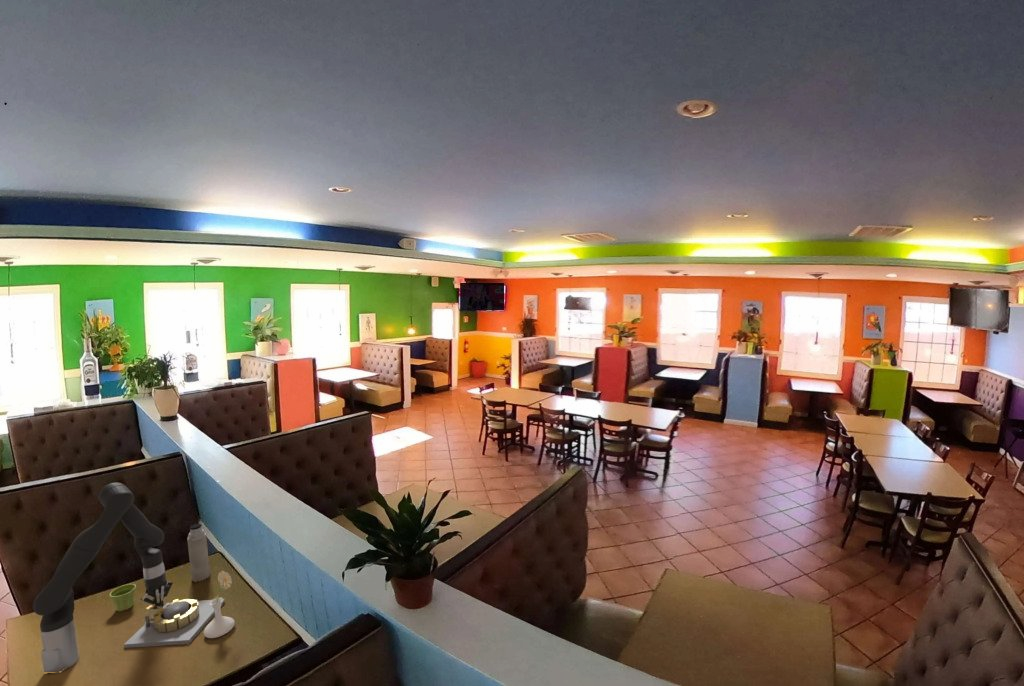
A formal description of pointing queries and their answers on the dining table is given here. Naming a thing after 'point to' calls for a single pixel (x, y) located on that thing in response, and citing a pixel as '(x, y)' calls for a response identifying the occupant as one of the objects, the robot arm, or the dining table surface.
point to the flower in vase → (220, 622)
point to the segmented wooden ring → (178, 620)
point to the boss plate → (179, 636)
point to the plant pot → (123, 597)
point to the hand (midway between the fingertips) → (159, 608)
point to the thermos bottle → (198, 553)
